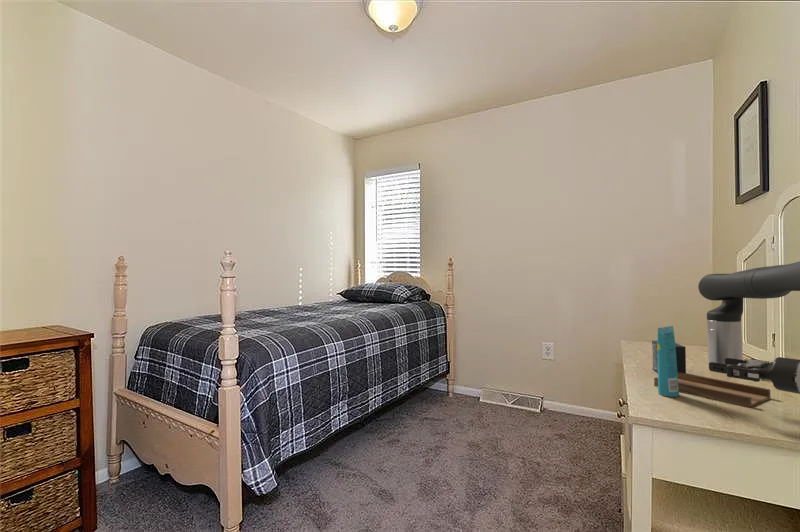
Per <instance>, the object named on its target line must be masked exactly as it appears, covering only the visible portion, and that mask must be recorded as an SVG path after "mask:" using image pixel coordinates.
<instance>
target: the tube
mask: <svg viewBox="0 0 800 532" xmlns="http://www.w3.org/2000/svg"><path fill="white" fill-rule="evenodd" d="M656 341H657V350H658V373H657V378H658V387H657V389H658V391H657V393H658V394H659V395H660V396H662V397H668V398H671V397H673V398H674V397H675V398H676V397H680V392H679V387H678V373H677V359H676V347H675V343H676V338H675V331H674V326H673V325H669V326H663V327H662V326H661V327H657V340H656Z"/></svg>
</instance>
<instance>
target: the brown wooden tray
mask: <svg viewBox="0 0 800 532" xmlns="http://www.w3.org/2000/svg"><path fill="white" fill-rule="evenodd" d="M677 373H678V387H679V393H685V394H689V395H693V396H698V397H701V396H702V397H703V398H706V399H711V400H714V401H715V400H716V401H719V402H723V401H724V402H723V403H728V402H729V403H728V404H732V403H733V405H738V406H741V405H742V407H745V406H746V408H751V407H753V406H756V405H759V404H761V403H763V402H765V400H766V399H768V400H770V399H771V398H772V397H771V389H769V388H766V387H760V386H754V385H749V384H744V383H740V382H739V383H737V382H732V381H729V380H722V379H718V378H713V377H705V376H701V375H695V374H691V373H687V372H686V373H681V372H677ZM653 383H654V387H657V388H658V376H656V377H654V381H653ZM702 397H701V398H702ZM769 398H770V399H769ZM766 401H767V400H766ZM760 402H761V403H760ZM758 403H759V404H758Z"/></svg>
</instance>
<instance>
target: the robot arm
mask: <svg viewBox="0 0 800 532" xmlns="http://www.w3.org/2000/svg"><path fill="white" fill-rule="evenodd" d="M697 288H698V291H699V293H700V295H701V296H702V297H703V298H704V299H706V300H709V301H714V302H715V301H716V302H717V301H721V304H720V305H719V306H717V307H715V308H713V309H711V310H708V311H706V329H707V330H706V331H707V332H706V333H707V355H708V356H707V359H708V361H707V362H708V370H709V371H710V372H713V373H722V374H724V375H725V374H726V376H727V378H731V379H732V378H734V379H739V380H746V381H752V382H755V383H757V382H760V381H762V382H763V381H765V380H770V381H771V382H772V385H773V387H774V388H775V389H776V390H778V391H782V392H788V393H793V394H799V395H800V359H796V358H791V357H789V358H788V357H784V356H783V357H782V356H781V357H780V356H777V357H776V358H775V359H774V360H773V361H769V360H760V359H755V358H751V359H747V358H746V359H744V354H743V353H744V352H743V330H742V315H743V313H744V299H758V300H759V299H760V300H761V299H762V300H763V299H777V298H782V297H786V296H788V295H789V294H790V293H791V292H800V260H799V261H796V262H793V263H787V264H779V265H770V266H769V265H768V266H762V267H754V268H750V269H745V270H740V271H735V272H732V273H710V274H706V275H704V276H702V278H701V279H700V280H699V282H698V286H697Z"/></svg>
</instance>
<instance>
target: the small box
mask: <svg viewBox="0 0 800 532" xmlns="http://www.w3.org/2000/svg"><path fill="white" fill-rule="evenodd" d="M651 345H652V347H651V348H652V371H653V370H654V372H655V373H657V374H658V350H657V340H652V341H651ZM675 347H676V359H677V372H681V373H686V374H687V365H686V363H687V362H686V361H687V359H686V358H687V357H686V356H687V353H686V346H685V345H682V344H679V343H676V342H675Z"/></svg>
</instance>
